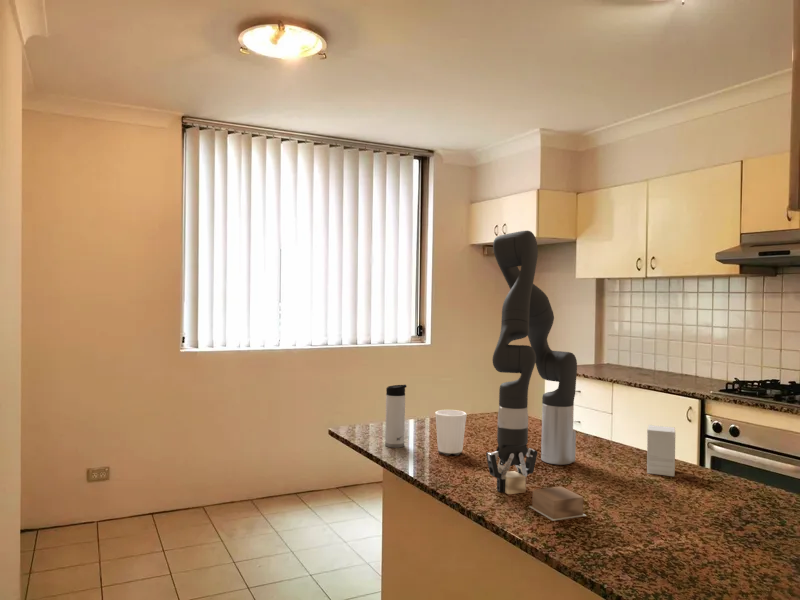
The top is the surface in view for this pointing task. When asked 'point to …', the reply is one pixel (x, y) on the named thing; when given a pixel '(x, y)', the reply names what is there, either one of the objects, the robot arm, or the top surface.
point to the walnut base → (557, 502)
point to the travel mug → (395, 416)
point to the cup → (450, 431)
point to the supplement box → (661, 450)
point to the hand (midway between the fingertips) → (511, 491)
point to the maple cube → (515, 482)
